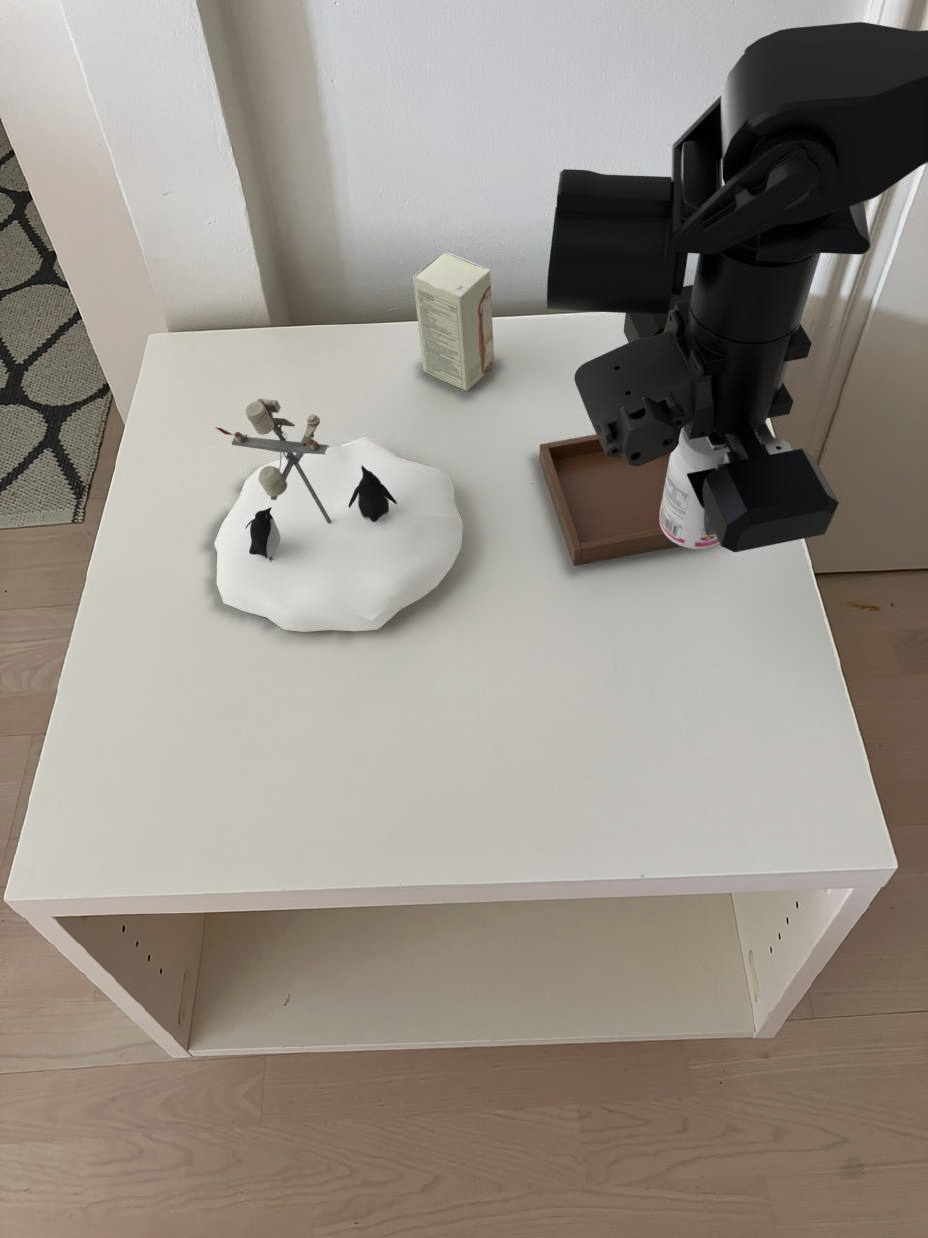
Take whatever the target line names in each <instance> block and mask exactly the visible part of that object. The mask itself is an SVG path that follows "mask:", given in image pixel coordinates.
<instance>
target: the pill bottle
mask: <svg viewBox="0 0 928 1238" xmlns="http://www.w3.org/2000/svg"><path fill="white" fill-rule="evenodd" d="M726 452H730V450H729V448H728V447H727V448H725V449H721V450H712V449H711V448H710V446H709V444H708V442H707V440H706V438H705V437H702V438H697V439H691V440H689V438H688V436H687V434H686V432H685V430H684V427H683V428H682V429H681V433H680V437H679V445H678V446H677V447H676V449H675V450H674V451H673V452H672V453H671V455H670V459H669V464H668V469H667V475H666V480H665V485H664V491H663V497H662V502H661V508H660V514H659V521H660V526H661V528H662V530H663V532H664V534H665V535H666V536H667V537H668V538H669V539H670V540H671V541H673V542H674V543H676V544H678V545H680V546H679V547H683V548H687V549H692V550H705V549H710V548H713V547H716V546H717V545H720V543H719V540H718V538H717V536H716V534H714V535H706V533H705V530H704V509H703V508H702V507H701V505H700V503H699V501H698V499H697V496H696V494H695V492H694V490H693V488H692V485H691V483H690V481H689V479H688V477H687V473H692V472H698V471H703V470H708V469H713V468H717V465H718V464H724V462H723V460H724V456H725V453H726Z"/></svg>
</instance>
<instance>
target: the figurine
mask: <svg viewBox="0 0 928 1238" xmlns="http://www.w3.org/2000/svg"><path fill="white" fill-rule="evenodd" d="M281 408H282V407H281V405H280V403H279V401H278V400H277V399H267V398H257V400H256V401H252V403H249V404H248V405H247V406H246V408H245V414H246V417H247V419H248V421H249V422H250V423H251V425H252V426H253V428H254V431H256V433H257V434H258V435H260V436H262V435H263V436H264V435H267V434H269V433H271V432H272V431H273V433H274V434H275V435H276V436H277V437H278V439H272V438H270V439H269V438H262V437H261V438H260V437H251V436H248V434H245V433H242V432H240V431H236V432H235V433H231V432H229V431H228V430H226V429H223V428H222V427H214V428H215V429H217V430H218V431H219V432H221V433H222V434H224V435H228V436H234V437H233V440H232V441H231V445H232V446H237V447H244V448H251V449H259V450H265V451H271V452H277V453H280V455H282V454H283V455H284V457H280V458H279V459H277V460H274V461H272V462H270V463H267V464H265V465H262V466H259V467H257V468H256V470H255V471H254V472H253V473H252V474H251V475H250V476H249V477H248V478H247V479H246V480H245V481H244V484H243V486H242V488H241V490H240V494H239V496H238V498H237V500H236V501H235V503H234V505H233V506H232V507H231V509H230V511H229V512H228V514H226V515H227V516H226V517H225V518H224V520H223V522H222V523H221V525H220V527H219V531H218V533H217V535H216V538H215V540H214V543H213V545H214V548H215V551H216V554H217V555H216V556H217V557H216V583H215V584H216V587H217V589H218V593H219V595H220V597H221V599H222V603H223V604H225V605H227V606H230V607H232V608H235V609H237V610H239V611H242V612H244V613H248V614H251V615H256V616H260V617H264V618H266V619H268V620H269V621H270V622H272V623H274V624H275V625H277V626H278V627H279V628H280V629H282V630H283V631H284V630H285V631H293V632H301V633H308V632H318V631H343V632H344V631H345V632H360V631H361V632H362V631H363V632H364V631H366V632H367V631H378V630H380V629H381V628H382V627H383V626H384V625H385V624H386V623H387V622H389V621H390V620H391V619H392V618H393V617H394V616H395V615H396V614H397V613H399V612H400V611H401V610H402V609H404V608H406V607H408V606H409V605H411V604H413V603H415V602H417V601H419V600H421V599H422V598H424V597H425V596H427V595H428V594H429V593H430V592H431V591H432V590H434V589H435V588H437V587H438V585H440V584H441V582H442V581H443V579H444V578H445V577H446V575H447V574H448V573H449V571H451V569H452V568H453V565H454V564H455V562H456V559H457V558H458V555H459V553H460V551H461V549H462V543H463V533H464V523H463V520H462V517H461V515H460V513H459V510H458V508H457V505H456V502H455V486H454V484H453V483H452V481H451V479H450V478H449V476H448V475H447V473H446V471H444V470H442V469H438V468H435V467H432V466H429V465H426V464H422V463H419V462H415V461H411V460H409V459H405V458H401V457H398V456H397V455H396V454H395V453H394V452H392V450H390V449H388V448H387V447H386V446H383V445H382V444H380V443H378V442H377V441H375V440H374V439H372V438H370V437H368V436H362V437H360V438H357V439H355V440H352V441H350V442H347V443H344V444H341V445H337V446H331V447H330V445H329V444H323V443H322V444H321V443H319V442H318V441H316V440H315V439H314V437H315V432H316V429H317V428H318V426H319V425H320V423H321V419H320V418H319V416H318V415H316V414H310V415H308V416H307V419H306V423H307V425H306V429H305V432H304V435H303V437H302V439H301V441H292V440H288V438H289V437H287V435H286V432H285V431H284V430H282V427H296V424H294V423H293V422H292V421H290V420H289V419H286V418H284V417H283V418H281V417H274V413H275V414H278V413H279V412H280V410H281ZM294 453H295V454H294Z"/></svg>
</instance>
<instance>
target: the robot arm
mask: <svg viewBox="0 0 928 1238" xmlns="http://www.w3.org/2000/svg"><path fill="white" fill-rule="evenodd" d="M720 94H721V95H720V96H719V97H717V99H716V100H715V101H714V102H713V103H712V104H711V105H710V106H709V107H708V108H707V109H706V110H705V111H704V112H703V113H702V114H701V115H700V116H699V117H698V118H697V119H696V120H695V121H694V122H693V123H692V124H691V126H689V127H688V128H687V129H686V130H685V132H683V134H681V136H680V137H678V139H677V140H676V141H675V142H674V143H673V144H672V145H671V149H670V150H671V153H670V154H671V155H670V157H671V159H670V172H669V176H661V175H660V176H659V175H656V176H655V175H632V174H631V175H628V174H608V173H607V174H606V173H601V172H600V173H599V172H596V171H593V170H589V169H571V168H569V169H567V168H565V169H564V168H563V169H562V170H561V171H560V172H559V175H558V186H557V193H556V206H555V210H554V218H553V227H552V233H551V234H552V236H551V245H550V250H549V260H548V268H547V269H548V270H547V283H546V309H547V310H553V311H555V310H557V311H577V312H594V313H613V314H615V313H618V314H625V315H624V323H623V324H624V325H623V334H624V336H625V338H626V340H627V343H625V344H622V345H620V346H619V347H616V348H614V349H611V350H610V351H607V352H605V353H603V354H601V355H599V356H597V357H594V358H592V359H590V360H587V361H586V362H584V363H583V364H581V365H580V366H579V367H578V368H577V369H576V371H575V372H574V378H573V379H574V383H575V386H576V389H577V391H578V393H579V396H580V399H581V401H582V404H583V406H584V408H585V411H586V414H587V416H588V418H589V421H590V423H591V425H592V427H593V429H594V433H595V434H597V436H598V439H599V441H600V443H601V446H602V448H603V450H604V452H605V453H606V454H607V455H608V456H609V457H611V458H614V457H615V458H617V457H623V456H624V457H625V458H626V461H627V463H628V465H630V466H642V465H644V464H646V463H648V462H651V461H653V460H655V459H658V458H660V457H662V456H665V455H667V454H669V453H672V452H673V451H674V450H675V449H676V447H677V446H678V445H679V437H680V433H681V429H682V428H683V427H684V430H685V432H686V434H687V436H688V438H689V440H691V439H697V438H702V437H705V438H706V440H707V442H708V444H709V446H710V448H711V449H712V450H721V449H725V448H727V447H728V448H729V450H730V452H726V453H725V456H724V460H723V462H724V464H718V465H717V468H713V469H708V470H703V471H698V472H692V473H687V477H688V479H689V481H690V483H691V485H692V488H693V490H694V492H695V494H696V496H697V499H698V501H699V503H700V505H701V507H702V508H703V509H704V530H705V533H706V535H714V534H716V536H717V538H718V540H719V545H720V547H721V548H724V549H726V550H728V551H730V552H732V553H739V552H744V551H749V550H754V549H758V548H759V549H760V548H764V547H768V546H775V545H778V544H784V543H788V542H789V543H790V542H794V541H798V540H803V539H808V538H813V537H819V536H824V535H825V534H826V532H827V531H828V529H829V527H830V525H831V523H832V521H833V518H834V517H835V514H836V512H837V508H838V507H839V504H840V502H839V500H838V498H837V495H835V493H834V491H833V489H832V487H831V485H830V484H829V482H828V480H827V478H826V476H825V475H824V473H823V471H822V469H821V467H820V466H819V464H818V462H817V460H816V458H815V456H813V455H812V454H810V453H809V452H808V451H807V450H805V449H803V448H797V449H794V448H793V447H792V445H791V444H790V442H788V441H787V440H785V439H784V438H778V437H774V435H773V434H772V432H771V430H770V427H769V426H768V424H767V419H772V418H778V417H782V416H788V415H790V413H791V410H792V408H793V405H794V399H793V397H792V396H791V394H790V391H789V390H788V389H787V387H786V385H785V383H784V378H785V376H786V372H787V369H788V366H789V362H791V361H797V360H803V359H807V358H808V357H809V354H810V350H811V347H812V344H813V343H812V341H811V339H810V337H809V336H808V334H807V333H806V331H805V328H804V327H803V326H802V324H801V322H802V318H803V314H804V312H805V311H804V310H805V308H806V305H807V302H808V301H807V300H808V298H809V294H810V290H811V287H812V284H813V280H814V277H815V274H816V270H817V267H818V263H819V261H820V257H821V254H839V255H859V256H860V255H865V254H866V253H867V252H868V251H869V250H870V249H871V239H870V238H871V237H870V232H869V225H868V219H867V214H866V205H865V202H868V201H871V200H874V199H875V198H877V197H879V196H881V195H882V194H883V193H884V192H886V191H887V190H889V189H890V188H892V187H893V186H895V185H896V184H897V183H899V182H900V181H901V180H903V179H905V178H906V177H907V176H909V175H910V174H911V173H914V171H916V170H917V169H919V168H920V167H922V166H924V165H926V164H928V29H923V30H910V29H904V28H899V27H893V26H887V25H881V24H878V23H877V24H875V23H870V22H864V21H855V22H844V23H843V22H842V23H833V24H822V25H821V24H820V25H809V26H798V27H790V28H784V29H783V28H782V29H778V30H777V31H774V32H772V33H769V34H767V35H765V36H761V37H760V38H758V39H757V40H755V41H753V42H752V43H751V44H749V45H748V46H747V47H746V48H745V49H744V50H743V54H742V55H741V56H740V57H739V59H738V60H737V62H736V63H735V64H734V65H733V67H732V68H731V70H730V71H729V72H728V74H727V77H726V79H725V82H724V85H723V87H722V90H721V93H720ZM689 254H698V257H697V262H696V268H695V272H694V279H693V284H689V285H684V284H685V277H686V272H687V264H688V258H689V257H688V256H689Z"/></svg>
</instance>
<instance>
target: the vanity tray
mask: <svg viewBox="0 0 928 1238" xmlns="http://www.w3.org/2000/svg"><path fill="white" fill-rule="evenodd" d="M670 455H671V453H669V454H667V455H665V456H662V457H660V458H658V459H655V460H653V461H651V462H648V463H646V464H644V465H642V466H630V465H628V463H627V461H626V458H625V457H624V456H623V457H617V458H615V457H614V458H611V457H609V456H608V455H607V454H606V453H605V452H604V450H603V448H602V446H601V443H600V441H599V439H598V436H597V434H596V433H595V434H590V435H585V436H578V437H573V438H568V439H562V440H557V441H550V442H547V443H546V442H545V443H541V444H539V456H538V460H539V464H540V466H541V469H542V473H543V476H544V478H545V481H546V485H547V488H548V491H549V494H550V497H551V501H552V504H553V506H554V510H555V513H556V515H557V519H558V523H559V525H560V528H561V532H562V534H563V537H564V540H565V543H566V547H567V550H568V553H569V555H570V559H571V562H572V565H573V566H579V565H584V564H590V563H594V562H601V561H606V560H610V559H615V558H621V557H627V556H632V555H638V554H642V553H648V552H653V551H659V550H663V549H669V548H676V547H681V546H680V545H678V544H676V543H674V542H673V541H671V540H670V539H669V538H668V537H667V536H666V535H665V534H664V532H663V530H662V528H661V526H660V521H659V514H660V508H661V502H662V497H663V491H664V485H665V480H666V475H667V469H668V464H669V459H670Z"/></svg>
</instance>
